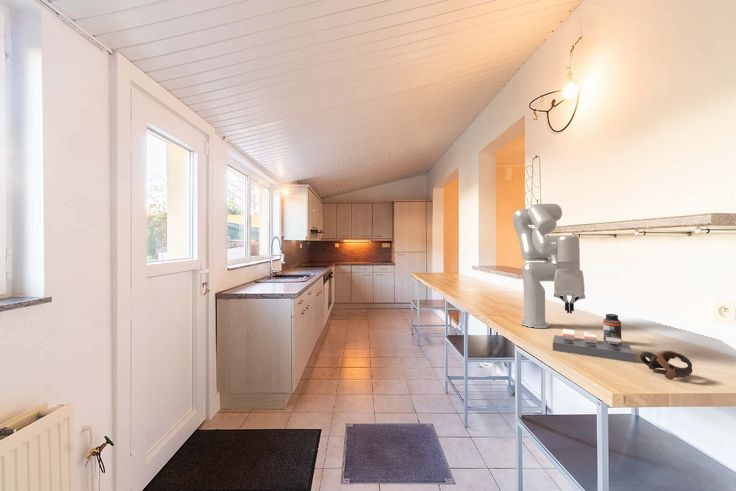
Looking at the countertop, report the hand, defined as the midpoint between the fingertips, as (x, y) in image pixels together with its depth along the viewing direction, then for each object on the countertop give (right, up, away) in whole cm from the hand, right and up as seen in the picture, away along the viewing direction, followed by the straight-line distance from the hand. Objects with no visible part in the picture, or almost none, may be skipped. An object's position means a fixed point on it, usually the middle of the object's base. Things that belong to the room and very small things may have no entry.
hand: (569, 312), depth 128 cm
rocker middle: (+5, -10, -5) cm, 12 cm away
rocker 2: (+10, -10, -9) cm, 17 cm away
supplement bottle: (+21, -13, +5) cm, 25 cm away
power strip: (+3, -13, -7) cm, 15 cm away
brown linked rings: (+11, -13, -29) cm, 34 cm away
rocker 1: (-1, -10, -1) cm, 10 cm away
